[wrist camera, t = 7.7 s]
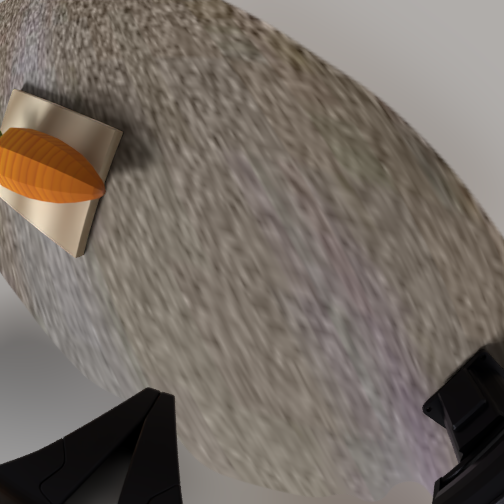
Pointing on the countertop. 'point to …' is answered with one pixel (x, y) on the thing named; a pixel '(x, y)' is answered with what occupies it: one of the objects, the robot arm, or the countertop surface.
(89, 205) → the cutting board
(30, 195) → the carrot
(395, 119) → the countertop surface
